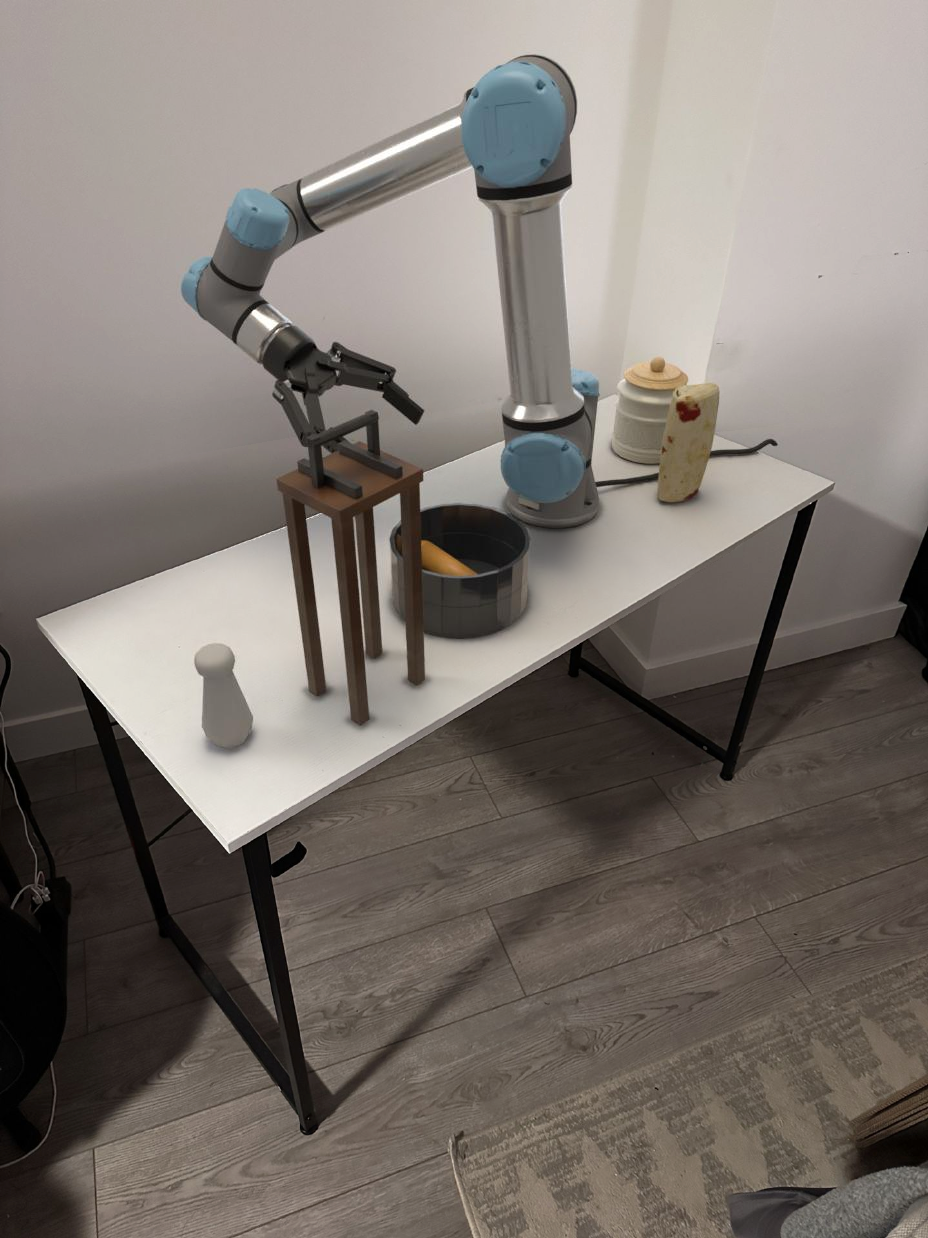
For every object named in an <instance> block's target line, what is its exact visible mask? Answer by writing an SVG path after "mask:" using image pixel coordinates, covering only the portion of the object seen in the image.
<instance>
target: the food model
mask: <svg viewBox="0 0 928 1238" xmlns="http://www.w3.org/2000/svg"><path fill="white" fill-rule="evenodd" d="M719 405H720V387H719V385H717V384H716V383H714V382H703V383H698V384H685V385H680V386H678V387H677V388H676V389H675V390H674V392H673V395H672V400H671V404H670V409H669V413H668V418H667V423H666V427H665V431H664V435H663V440H662V448H661V458H660V463H659V468H658V472H659V477H658V478H657V498H658V500H659V501H662V502H666V503H678V502H684V501H687V500H690V499H692V498H694V497H696V496H697V494H698V493H699V489H700V487H701V484H702V482H703V479H704V475H705V472H706V469H707V466H708V462H709V461H710V460H709V459H710V457H711V456H710V453H711V451H712V449H713V443H714V438H715V432H716V428H717V421H718V420H717V419H718V414H719V413H718V412H719Z"/></svg>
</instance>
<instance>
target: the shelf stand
mask: <svg viewBox="0 0 928 1238" xmlns="http://www.w3.org/2000/svg"><path fill="white" fill-rule="evenodd" d="M379 420H380V416H379V412H378V411H377V410H374V409H370V410H367V411H365V412H364V414H361V415H359V416H357V417H354V418H352V419H350V420H347V421H345V422H342V423H340V424H338V425H336V426H333V427H332V428H331V427H330V428H331V429H329V428H328V429H326V431H324V432H321V433H319V434H317V435H315V434H313V435H311V436H308V437H307V445H308V447H307V450H308V451H307V453H308V459H307V458H305V457H304V458H302V459H299V460H297V462H296V464H297V469H294V470H293V471H290V472H288V473H286V474H283V475H281V476H279V477H277V478H276V479H275V480H276V487H277V492H279V493H281V494H282V501H283V508H284V516H285V524H286V531H287V537H288V545H289V552H290V561H291V565H292V575H293V582H294V590H295V597H296V603H297V610H298V619H299V620H298V621H299V627H300V633H301V634H300V635H301V642H302V650H303V656H304V663H305V671H306V679H307V685H308V691H309V692H310V693H312V694H313V695H315V696H316V697H319V696H320V695H321V694H323V693H324V692H326V691H327V682H326V681H327V680H326V674H325V666H324V657H323V647H322V640H321V632H320V623H319V615H318V614H319V613H318V606H317V598H316V590H315V582H314V573H313V565H312V556H311V555H312V554H311V547H310V540H309V532H308V531H309V530H308V523H307V514H306V507H309V508H311V510H314V511H316V512H318V513H320V514H321V515H324V516H326V517H328V518H330V522H331V531H332V540H333V551H334V559H335V560H334V562H335V570H336V582H337V590H338V591H337V592H338V601H339V608H340V609H339V611H340V612H339V613H340V620H341V622H340V623H341V632H342V642H343V643H342V644H343V653H344V659H345V660H344V662H345V669H346V670H345V671H346V681H347V690H348V702H349V712H350V720H351V721H352V722H353V723H355V724H356V725H358V726H362V725H363V724H364V723H366V722H368V721H369V720H370V707H369V695H368V683H367V672H366V670H367V669H366V661H365V660H366V659H365V658H366V657H365V655H367V656H368V657H370V658H372V659H373V660H375V659H376V658H378V657H379V656H381V655H382V654H383V639H382V637H383V636H382V623H381V609H380V594H379V578H378V577H379V576H378V564H377V548H376V546H377V545H376V533H375V531H376V529H375V517H374V507H376V506H378V505H380V504H381V503H384V502H386V501H388V500H389V499H391V498H393V497H395V496H397V495H399V507H400V520H401V531H402V554H403V577H404V600H405V621H404V622H405V641H406V664H407V680H408V681H409V682H410V683H413V684H414V685H415V686H418V685H419V684H421V683H422V682H424V681H425V680H426V667H425V666H426V661H425V657H426V656H425V633H424V622H423V586H422V551H421V515H420V510H421V486H420V484H421V483H422V482H424V468H422V467H420V466H419V465H415V464H413V463H410V462H409V461H406V460H405V459H401V458H399V457H397V456H395V455H392V454H390V453H388V452H387V451H386V452H385V451H383V450H381V441H380V426H379ZM363 428H365V429H366V443H365V442H362V441H361V440H359V441H357V442H355V443H352V442H350V441H349V442H347V441H345V440H344V441H342V442H340V443H338V445H339V451H337V452H334V453H332V454H331V453H330V454H328V455H326V456H324V457H323V450H322V448H323V446H322V445H324V444H327V443H329V442H331V441H334V440H336V439H338V438H340V437H344V436H347V435H349V434H352V433H354V432H356V431H359V430H361V429H363ZM305 506H306V507H305ZM354 523H355V524H354ZM354 525H355V526H354ZM355 537H356V538H355ZM356 547H357V549H356ZM357 560H358V561H357ZM359 585H360V587H359ZM360 597H361V599H360ZM361 610H362V611H361ZM364 646H365V647H364Z"/></svg>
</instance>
